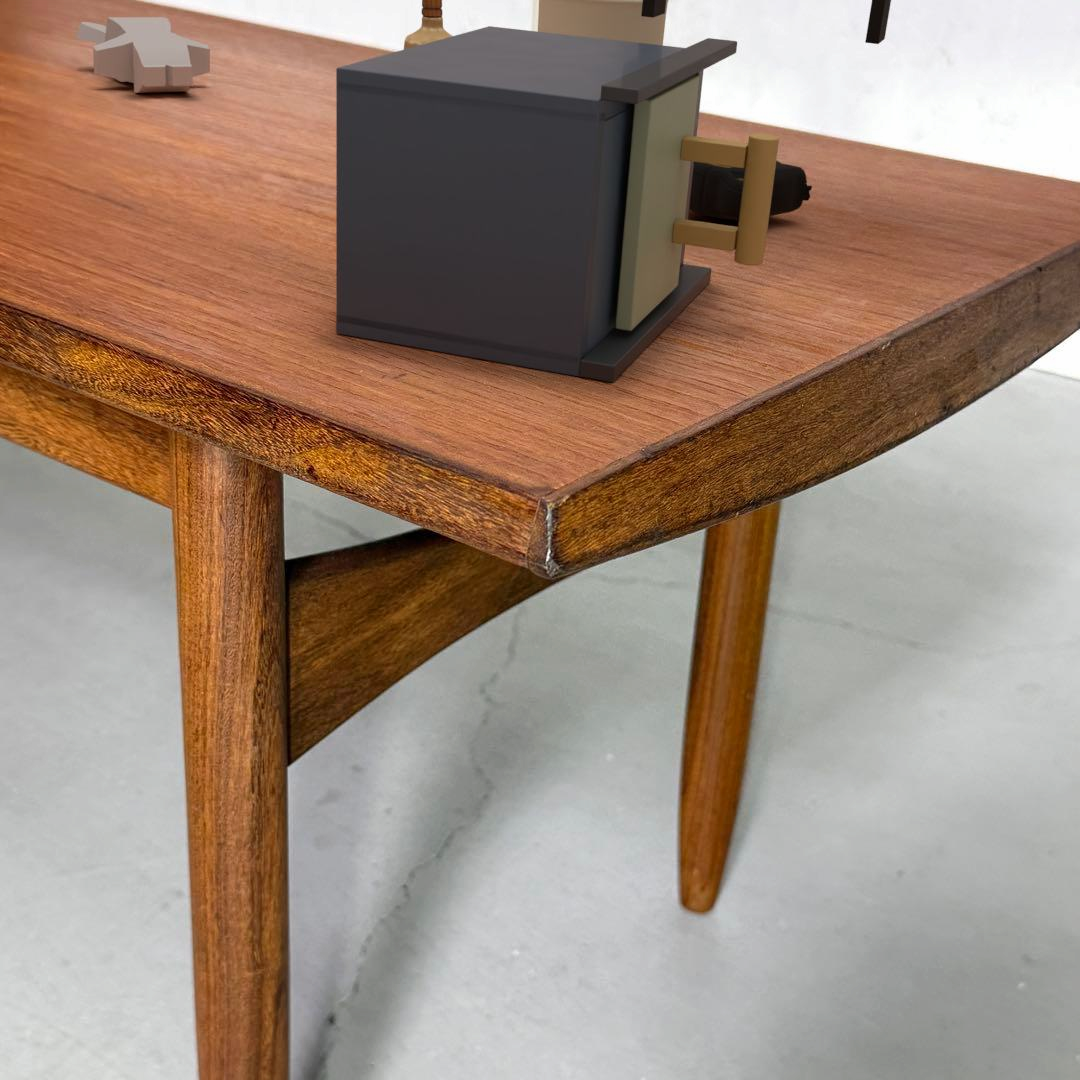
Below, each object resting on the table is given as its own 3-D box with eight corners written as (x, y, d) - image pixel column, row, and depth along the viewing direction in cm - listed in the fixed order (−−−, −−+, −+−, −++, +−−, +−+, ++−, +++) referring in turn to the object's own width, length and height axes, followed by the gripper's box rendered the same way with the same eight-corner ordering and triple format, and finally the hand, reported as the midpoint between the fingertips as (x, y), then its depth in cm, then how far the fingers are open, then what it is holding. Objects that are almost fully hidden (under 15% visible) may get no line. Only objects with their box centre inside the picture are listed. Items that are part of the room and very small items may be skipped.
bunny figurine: (108, 47, 115) (62, -2, 126) (110, 112, 118) (65, 59, 129) (226, 45, 120) (172, -2, 130) (226, 108, 122) (173, 57, 133)
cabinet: (710, 282, 81) (737, 41, 75) (613, 383, 66) (638, 89, 60) (479, 246, 85) (488, 14, 79) (335, 333, 69) (335, 53, 64)
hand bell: (442, 119, 119) (449, -98, 112) (359, 103, 122) (361, -107, 115) (499, 106, 125) (508, -99, 118) (419, 92, 129) (423, -108, 122)
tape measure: (735, 237, 90) (742, 175, 89) (655, 212, 95) (660, 152, 93) (807, 223, 94) (815, 164, 93) (727, 200, 99) (734, 143, 97)
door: (765, 300, 74) (792, 86, 70) (726, 347, 67) (754, 112, 63) (663, 283, 76) (683, 73, 71) (614, 329, 69) (634, 98, 64)
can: (663, 153, 112) (679, -17, 106) (642, 177, 104) (659, -4, 98) (543, 140, 113) (554, -28, 108) (514, 163, 105) (524, -17, 100)
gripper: (1058, -368, 80) (978, 45, 89) (614, -386, 86) (584, -1, 96) (1052, -387, 73) (967, 60, 83) (574, -404, 80) (545, 10, 89)
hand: (761, 28), depth 89 cm, fingers open, 13 cm apart
